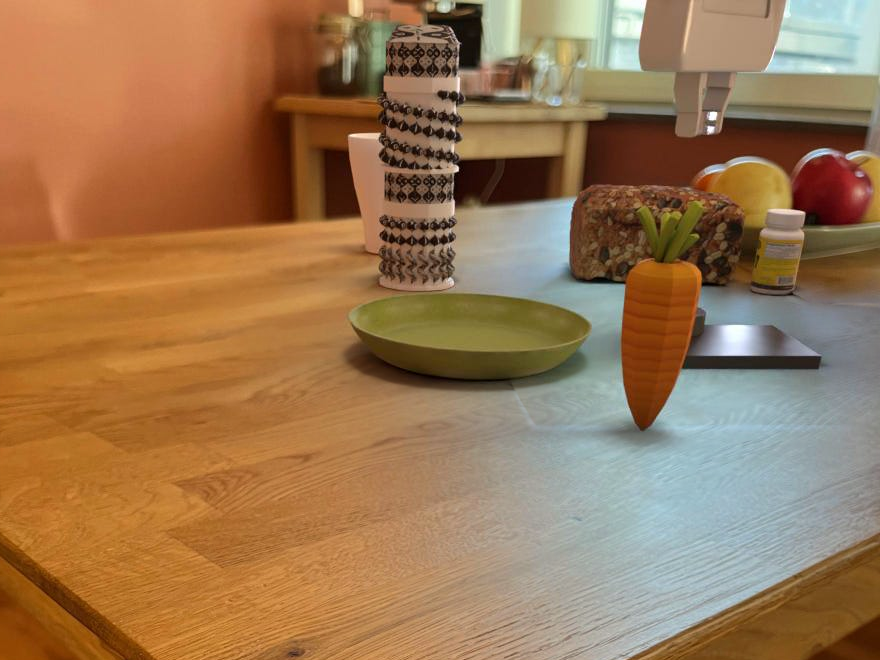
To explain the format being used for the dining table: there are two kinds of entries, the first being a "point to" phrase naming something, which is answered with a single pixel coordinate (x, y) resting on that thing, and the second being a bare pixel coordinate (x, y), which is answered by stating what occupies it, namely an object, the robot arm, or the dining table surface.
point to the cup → (368, 185)
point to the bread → (624, 240)
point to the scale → (745, 348)
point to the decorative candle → (419, 157)
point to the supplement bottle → (778, 252)
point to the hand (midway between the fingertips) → (697, 135)
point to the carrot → (659, 314)
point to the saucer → (469, 334)
